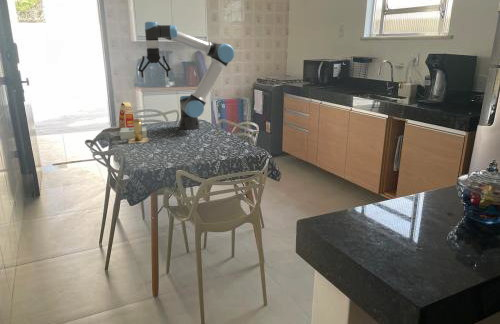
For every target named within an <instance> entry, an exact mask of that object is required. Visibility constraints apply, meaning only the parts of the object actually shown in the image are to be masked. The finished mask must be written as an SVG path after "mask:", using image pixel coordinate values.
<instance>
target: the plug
mask: <svg viewBox="0 0 500 324" xmlns="http://www.w3.org/2000/svg"><path fill="white" fill-rule="evenodd" d="M133 126H134V138H135V141H142V140H143V138H142V127H143V125H142V119H141V118H135V119H133Z"/></svg>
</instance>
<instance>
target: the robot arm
mask: <svg viewBox="0 0 500 324" xmlns="http://www.w3.org/2000/svg"><path fill="white" fill-rule="evenodd" d="M177 27H178V26H176V25H175V24H173V25H172V24H168V25H167V24H166V25H165V24H164V25H162V24H158V22H157V21H145V23H144V31H145V32H144V33H145V45H146V46H145V47H146V55H145V56H144V55H142V57H141V58H142V59H141V61H140V65H139V66H138V69H137V71H138V72H140V74H141V78H143V83H145V84H146V77H145V70H146V68H147V67H148V66H149V64H157V63H158V65H160V66H161V67H162V69H163V70H165V71H164V78H165V79H164V80H165V83H167V82H168V77H169V72H170V71H172V68H171V67H170V65H169V64H168V61H167V60H166V56H165V55H160V48H159V47H160V45H159V39H161V38H162V39H165V40H167V41H171V42H174V43H176V44H179V45H182V46H184V47H188V48H190V49H193V50H195V51H198V52H201V53H203V54H204V55H205V56H207V57H210V60H211V61H210V64H209V65H208V67H207V69H206V71H205V73H204V74H203V77H202V78H201V80H200V82H199V83H198V86H197V87H196V89H195V91H194V92H192V93H190V95H181V96H180V97H179V106H180V107H179V108H180V118H179V122H178V129H181V130H190V131H191V130H197V129H200V128H201V123H200V121H199V117H201V116H202V115H203V113H204V111H205V106H206V104H207V101H206V99H207V97H208V96H209V94H210V91H211V90H212V89H213V86H214V85H215V83H216V81H217V79H218V78H219V76H220V75H221V72H222V70H223V69H225V68H226V67H227V66H228V65H229V63H231V61H233V59H234V58H235V50H234V47H232V46H231V45H230V44H228V43H216V42H212V41H205V40H202V39H199V37H198V38H197V37H195V36H192V35H189V34H187V33H184V32H181V31H180V30H178V28H177ZM160 59H161V60H163V62H164V64H165V65H166V66H165V65H164V64H163V63H162V62H161V61H160ZM145 60H147V62H146V63H145V64H144V62H145ZM143 64H144V66H143ZM166 67H167V68H166Z"/></svg>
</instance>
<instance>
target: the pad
mask: <svg viewBox="0 0 500 324" xmlns="http://www.w3.org/2000/svg"><path fill="white" fill-rule="evenodd" d="M149 141H150V139H149V137H147V138H143V140H142V141H135V139H128V145H131V143H132V144H142V143H143V144H145V143H149Z"/></svg>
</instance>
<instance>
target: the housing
mask: <svg viewBox="0 0 500 324" xmlns="http://www.w3.org/2000/svg"><path fill="white" fill-rule="evenodd" d="M119 130H120V131H119V135H120V136H119V137H120V140H121V141H124V140H129V139H135V138H134V127H132V128H121V129H119ZM142 138H148V132H147V126H142Z"/></svg>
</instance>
